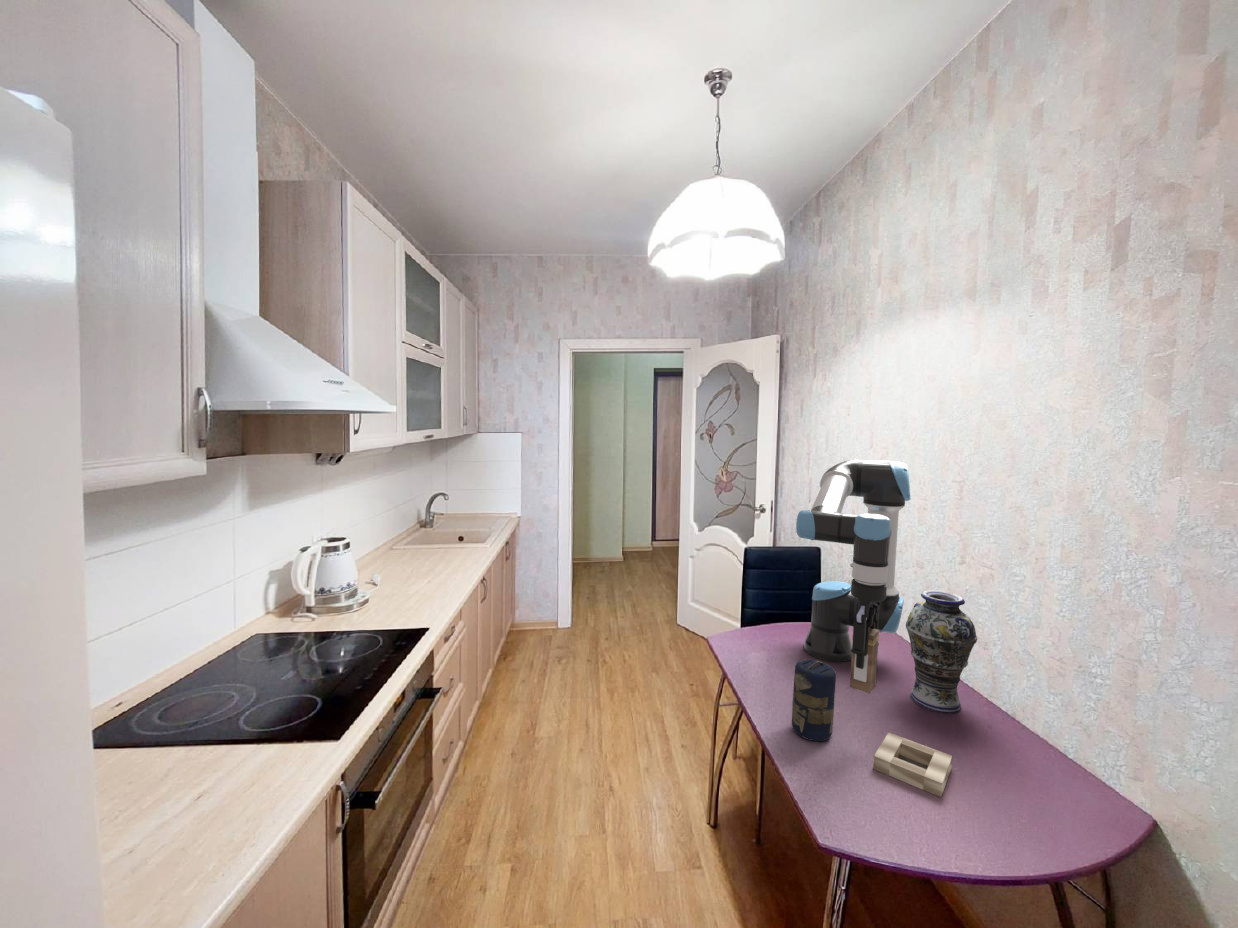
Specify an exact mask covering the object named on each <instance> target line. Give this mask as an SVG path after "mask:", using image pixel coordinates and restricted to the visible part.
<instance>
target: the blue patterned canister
mask: <svg viewBox="0 0 1238 928" xmlns="http://www.w3.org/2000/svg"><path fill="white" fill-rule="evenodd" d="M793 675H794V676H793V677H794V678H793V691H792V711H791V727H792V729H793V731H794V732H795V734H798V736H801V737H802V738H805V740H810V741H814V742H823V741H827V740H829V739H830V738H832V737H831V736H832V735H833V732H834V731H833V729H834V716H835V715H834V714H835V713H834V712H835V698H836V695H835V694H836V682H837V672H836V670H835V668H833V666H831V665H830V664H828V663H826V662H824V661H821V660H817V659H808V658H807V659H800V660H799V661H797V662H796V664H795V666H794V674H793Z"/></svg>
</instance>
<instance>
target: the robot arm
mask: <svg viewBox="0 0 1238 928" xmlns="http://www.w3.org/2000/svg"><path fill="white" fill-rule="evenodd" d="M909 474H910V473H909V467H908V465H907V464H906V463H905V462H901V461H892V460H868V459H867V460H863V459H850V460H844V461H842V462H839V463H837V464H835V465H833V466H831V467H829V468H828V469H826V471H825V472H824V473H823V475H822V477H821V479H820V482H819V487H820V490H819V491H818V493H817V496H816V498H815V500H814V502H813V504H812V507H811V509H807V510H804V509H802V510H799V512H798V514H797V518H796V530H795V531H796V535H797V536H798V537H799V538H801V539H806V540H810V541H819V542H820V541H821V542H828V543H836V544H837V543H838V544H844V545H845V544H846V545H852V546H853V553H852V554H853V555H852V563H850V565H849V566H850V568H852V571H851V577H852V579H851V581H850V583H851V584H850V583H849V582H848V583H847V582H844V581H836V580H834V581H833V580H831V581H823V582H819V583H816V584H815V585H814V586H813V589H812V597H811V600H812V601H811V620H810V621H811V623H810V628H809V630H808V633H807V635H806V637H805V640H804V650H805V652H806V653H807V654H809V655H811V656H812V657H814V658H816V659H820V660H823V661H829V662H835V663H836V662H837V663H840V662H843V663H844V662H848V661H850V660H852V653H855V662H854V679H857V680H860V681H863V682H866V681H867V667H868V654H867V647H868V639H869V631H870V628H872V629H877V630H879V633H884V634H885V633H886V634H895V633H896V632H897V631H898V629H899V627H900V622H901V618H902V613H903V609H904V608H903V607H904V602H905V599H904V597H902V596H900V590H899V589H898V588H897V587H896V586H895V577H896V576H895V575H896V559H897V544H898V543H897V542H898V531H899V529H898V528H899V513H900V511H901V510H902V509H903V508H904V507H905V505H906V502H908V501H910V500H911V486H910V475H909ZM849 496H850V497H859V498H863V502H862V503H863V504H864V506H866V507H867V513H860V514H857V515H856V514H847V513H842V512H843V509H844V506H845V502H846V499H847V498H848V497H849ZM850 627H853V628H852V630H853V631H852V638H853V640H852V639H851V637H850V633H849V629H850ZM852 643H853V644H852ZM879 645H880V643H879V642H878V647H879Z"/></svg>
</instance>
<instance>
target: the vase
mask: <svg viewBox="0 0 1238 928" xmlns="http://www.w3.org/2000/svg"><path fill="white" fill-rule="evenodd" d="M920 596H921V598H922V599H924V600H925V601H920V602H916V603H915V604H914V606H913V607H912V609H911V610H910V612H909V614H908V616H907V620H906V622H905V628H906V630H907V634H908V639H909V641H910V648H911V650H910V655H911V657H913V660H914V661H913V662H914V673H915V681H914V684H913V687H912V688H911V689H912V690H911V691H910V694H909V696H910V700H912V701H913V702H914V703H915V704H916V705H918V706H920V707H922V708H923V709H927V710H929V711H931V712H935V713H939V714H940V713H941V714H959V713H960V712H961V711H962V705H961V700H960V697H959V693H958V686H959V683H960V681H961V676H962V672H963V670H964V669H965V668H966V667H967V666H968V665H969V662H968V661H969V658H970V656H971V653H972V650H973V648H974V646H975V644H977V641H978V636H977V632H976V627H975V624H974V623H973V621H972V619H971V618H970V617H969V616H968V615H967V614H966V613H965V612H963V610H961V609H960V606H963V605H965V603H966V601H965V599H964V598H963V597H962V596H960V595H958V594H956V593H953V592H952V593H951V592H948V591H943V590H937V589H936V590H925V591H922V592H921V594H920Z"/></svg>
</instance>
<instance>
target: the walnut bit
mask: <svg viewBox="0 0 1238 928" xmlns="http://www.w3.org/2000/svg"><path fill="white" fill-rule="evenodd" d="M879 640H880V632H879V630H877V629H872V628H870V631H869V639H868V647H867V654H868V667H867V681H866V682H863V681H860V680H857V679H854V662H855V653H852V659H850V660H851V662H850V665H851V666H850V680H849V688H852V689H855V690H858V691H861V692H864V693H867V694H871V693H872V692H873V690H874V689H875V688H876V685H877V668H878V667H877V666H878V653H879V652H878V651H879V650H878V649H879V646H878V643H879ZM851 641H853V637H852V639H851ZM851 643H852V644H853V642H851Z"/></svg>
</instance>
